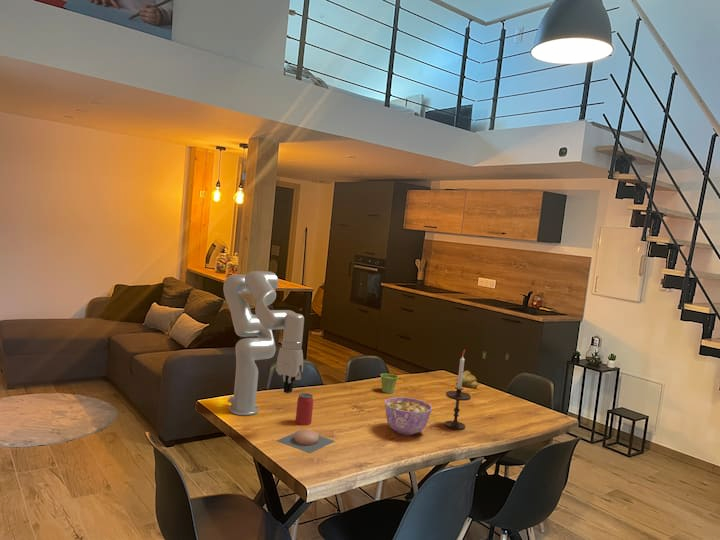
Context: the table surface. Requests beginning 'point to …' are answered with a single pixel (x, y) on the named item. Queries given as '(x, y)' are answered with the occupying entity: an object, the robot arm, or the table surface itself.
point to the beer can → (304, 409)
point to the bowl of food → (407, 414)
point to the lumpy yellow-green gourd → (469, 380)
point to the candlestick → (457, 399)
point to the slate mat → (290, 441)
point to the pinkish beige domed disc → (306, 437)
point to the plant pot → (388, 382)
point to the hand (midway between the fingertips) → (287, 392)
